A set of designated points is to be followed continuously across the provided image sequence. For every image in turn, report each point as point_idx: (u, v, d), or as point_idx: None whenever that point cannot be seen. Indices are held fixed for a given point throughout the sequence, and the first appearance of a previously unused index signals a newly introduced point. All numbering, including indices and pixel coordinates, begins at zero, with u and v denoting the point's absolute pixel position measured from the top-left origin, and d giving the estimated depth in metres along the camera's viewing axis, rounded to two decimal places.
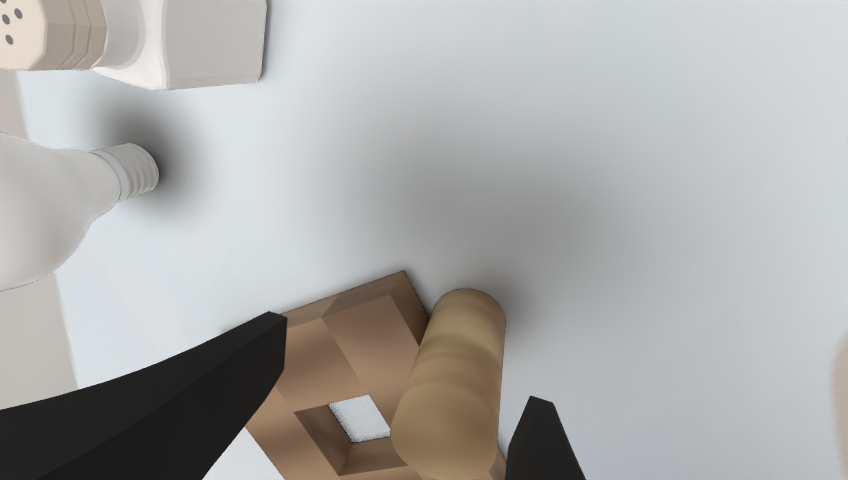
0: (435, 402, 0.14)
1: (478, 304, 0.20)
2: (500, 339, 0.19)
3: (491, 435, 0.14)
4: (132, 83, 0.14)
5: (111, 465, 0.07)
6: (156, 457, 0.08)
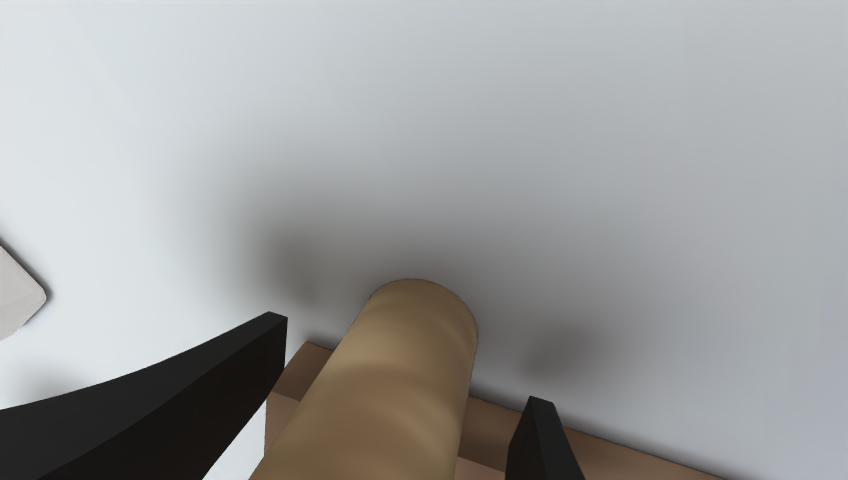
0: None
1: (371, 304, 0.12)
2: (411, 326, 0.11)
3: None
4: None
5: (111, 466, 0.07)
6: (156, 457, 0.08)
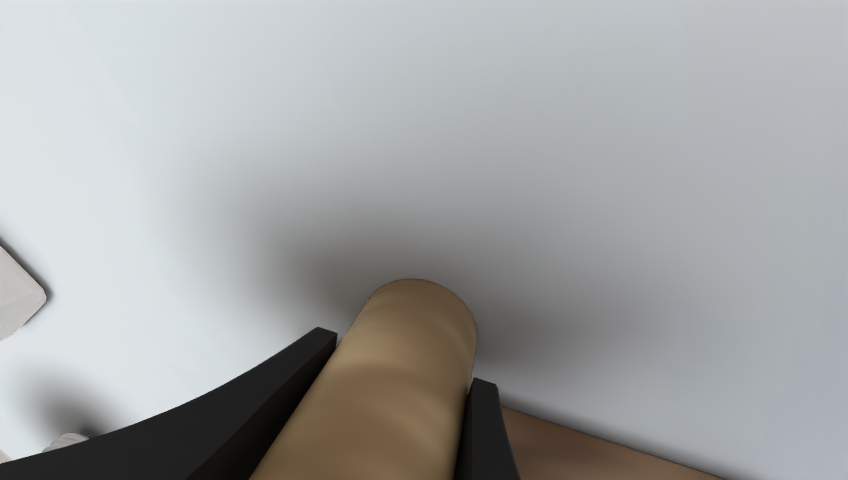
0: None
1: (371, 305, 0.12)
2: (411, 326, 0.11)
3: None
4: None
5: None
6: None
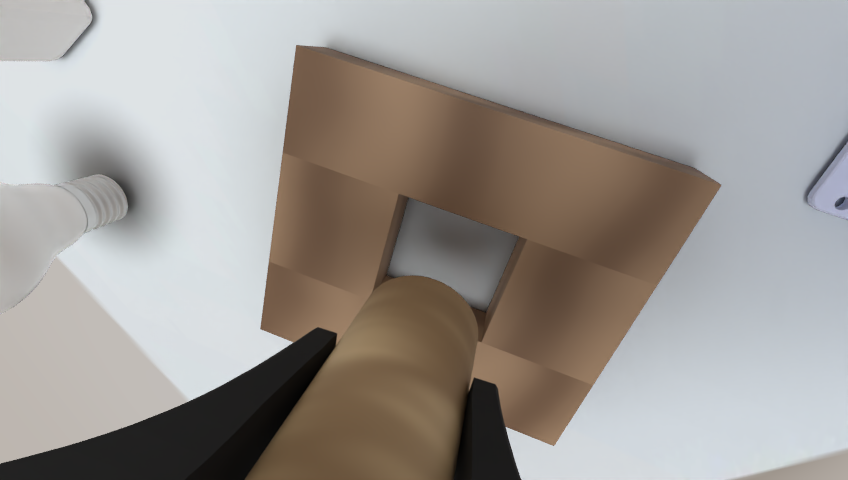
0: None
1: (369, 302, 0.12)
2: (409, 320, 0.11)
3: None
4: None
5: None
6: None
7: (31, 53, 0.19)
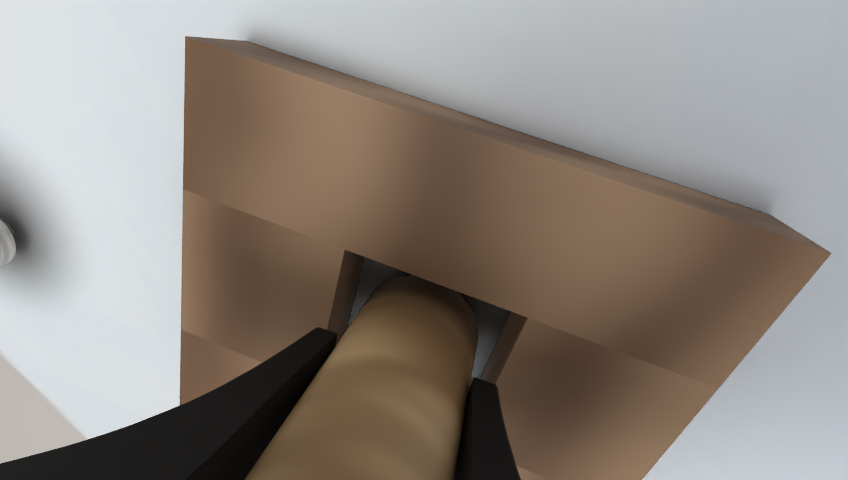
0: None
1: (370, 302, 0.12)
2: (409, 320, 0.11)
3: None
4: None
5: None
6: None
7: None
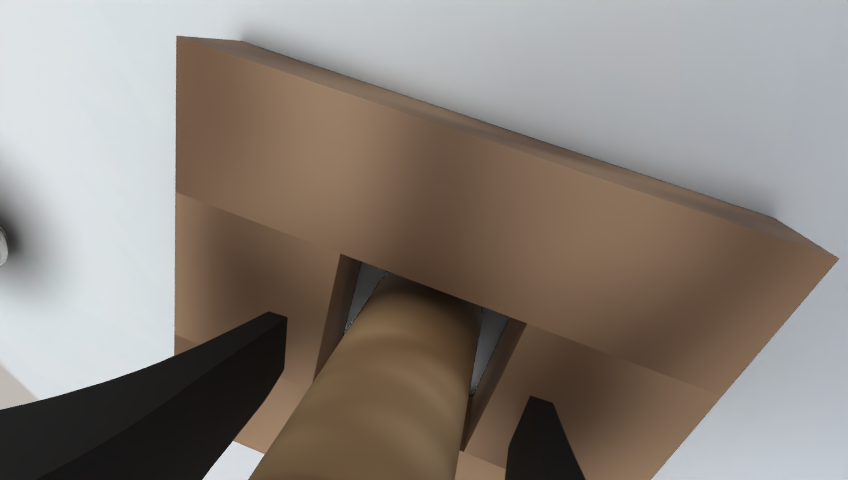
0: None
1: (380, 288, 0.13)
2: (418, 303, 0.12)
3: None
4: None
5: (110, 466, 0.07)
6: (156, 457, 0.08)
7: None
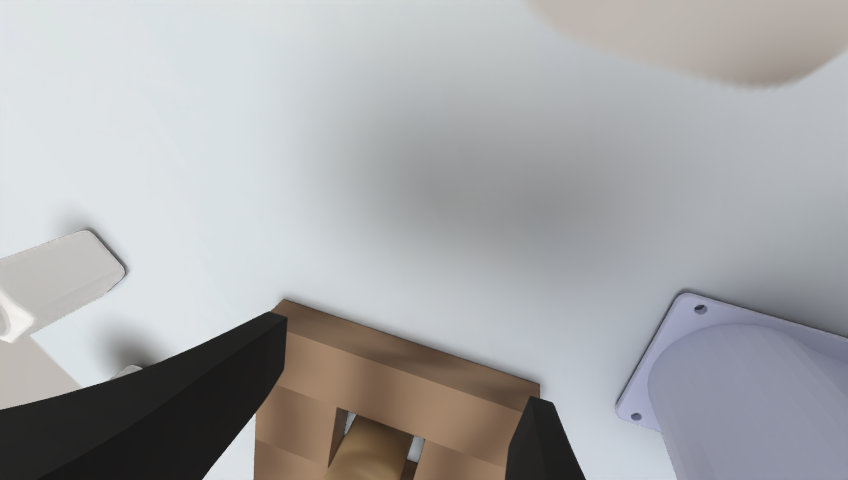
0: None
1: None
2: (375, 428, 0.24)
3: None
4: (22, 330, 0.23)
5: (111, 466, 0.07)
6: (156, 457, 0.08)
7: (85, 304, 0.27)
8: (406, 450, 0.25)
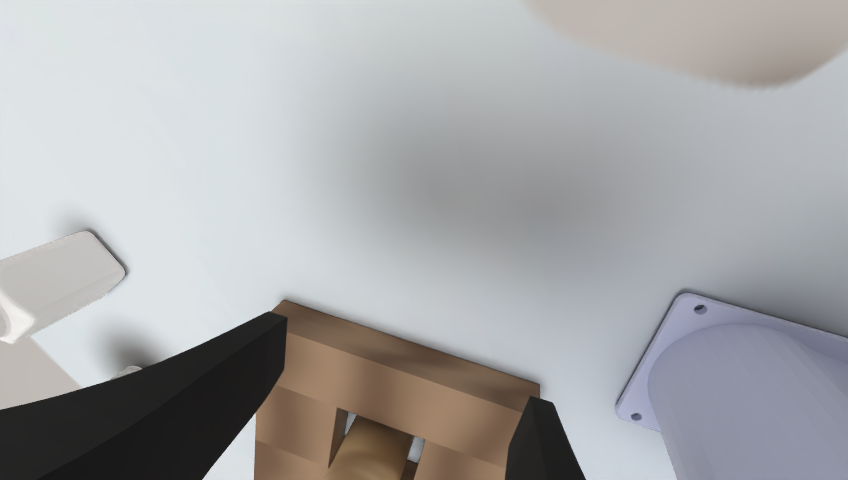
0: None
1: None
2: (375, 428, 0.24)
3: None
4: (22, 331, 0.23)
5: (111, 466, 0.07)
6: (156, 457, 0.08)
7: (85, 304, 0.27)
8: (406, 450, 0.25)
